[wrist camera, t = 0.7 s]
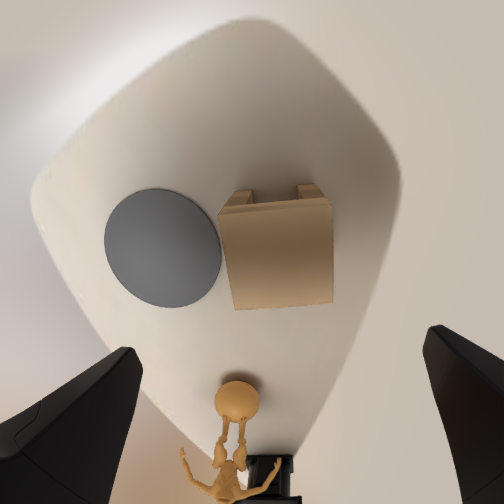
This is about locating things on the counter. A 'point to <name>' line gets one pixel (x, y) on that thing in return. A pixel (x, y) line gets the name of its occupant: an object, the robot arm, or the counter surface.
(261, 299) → the oak stool
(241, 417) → the figurine
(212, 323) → the counter surface
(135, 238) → the charcoal mat
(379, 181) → the counter surface
